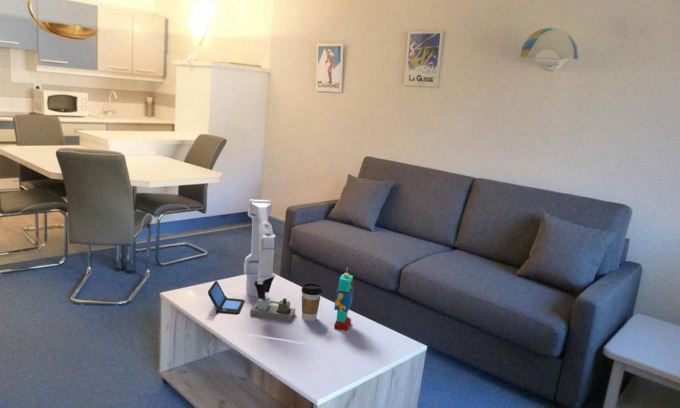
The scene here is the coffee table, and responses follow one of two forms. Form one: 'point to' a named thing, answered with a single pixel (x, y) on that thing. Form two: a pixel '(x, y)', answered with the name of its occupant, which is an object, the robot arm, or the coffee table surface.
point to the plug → (263, 304)
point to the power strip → (272, 313)
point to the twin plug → (284, 306)
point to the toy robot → (343, 301)
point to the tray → (273, 303)
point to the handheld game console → (224, 301)
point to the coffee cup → (310, 301)
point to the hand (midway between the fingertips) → (263, 295)
